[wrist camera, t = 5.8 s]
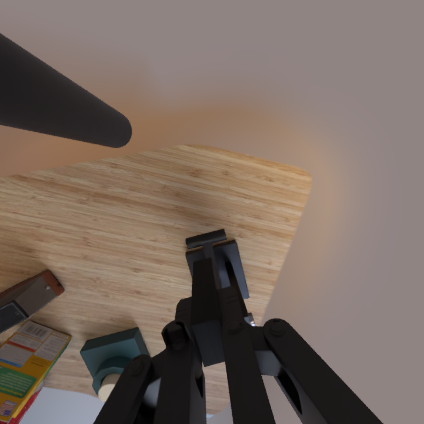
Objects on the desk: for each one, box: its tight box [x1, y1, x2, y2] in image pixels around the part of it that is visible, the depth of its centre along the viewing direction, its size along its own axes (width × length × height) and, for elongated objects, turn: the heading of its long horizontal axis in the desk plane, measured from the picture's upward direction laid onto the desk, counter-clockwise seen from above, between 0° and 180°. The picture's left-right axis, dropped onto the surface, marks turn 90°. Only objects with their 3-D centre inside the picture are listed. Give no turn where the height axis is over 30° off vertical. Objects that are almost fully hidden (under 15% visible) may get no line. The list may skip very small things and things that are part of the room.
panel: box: [80, 328, 150, 395], centre depth 33 cm, size 12×9×4 cm
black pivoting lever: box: [186, 229, 227, 289], centre depth 24 cm, size 12×5×2 cm
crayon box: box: [0, 320, 71, 422], centre depth 28 cm, size 7×3×12 cm, turn 60°
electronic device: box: [0, 270, 64, 334], centre depth 28 cm, size 4×10×8 cm, turn 117°
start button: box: [98, 373, 121, 403], centre depth 31 cm, size 4×4×2 cm
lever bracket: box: [186, 240, 255, 326], centre depth 26 cm, size 10×8×13 cm
